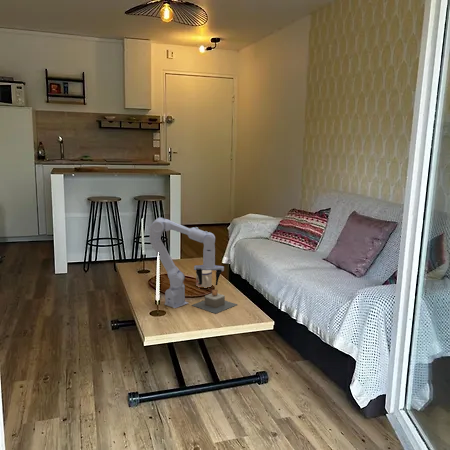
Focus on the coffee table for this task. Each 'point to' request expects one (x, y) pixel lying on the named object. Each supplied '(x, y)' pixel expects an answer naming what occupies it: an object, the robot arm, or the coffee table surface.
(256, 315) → the coffee table surface
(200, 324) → the coffee table surface
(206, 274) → the teacup with lid
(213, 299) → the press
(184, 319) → the coffee table surface
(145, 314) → the coffee table surface
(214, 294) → the plunger
